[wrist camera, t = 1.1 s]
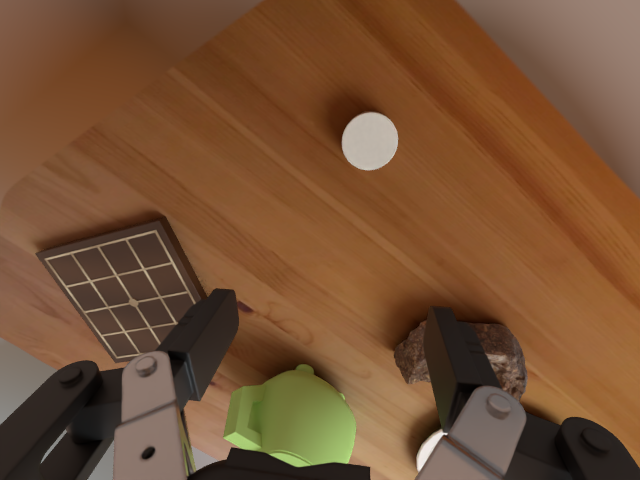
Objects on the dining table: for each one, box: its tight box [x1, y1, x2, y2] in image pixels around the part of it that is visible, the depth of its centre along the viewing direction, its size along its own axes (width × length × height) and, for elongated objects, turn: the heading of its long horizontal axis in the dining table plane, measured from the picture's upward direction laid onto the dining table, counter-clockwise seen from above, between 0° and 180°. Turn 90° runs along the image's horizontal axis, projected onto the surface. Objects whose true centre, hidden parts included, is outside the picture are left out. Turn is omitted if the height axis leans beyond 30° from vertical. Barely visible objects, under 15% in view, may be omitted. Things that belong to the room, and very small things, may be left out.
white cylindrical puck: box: [342, 111, 398, 170], centre depth 26 cm, size 5×5×2 cm
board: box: [35, 217, 208, 363], centre depth 38 cm, size 18×18×1 cm
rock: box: [394, 320, 528, 402], centre depth 33 cm, size 13×8×6 cm, turn 83°
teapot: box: [223, 364, 356, 467], centre depth 37 cm, size 20×13×13 cm
